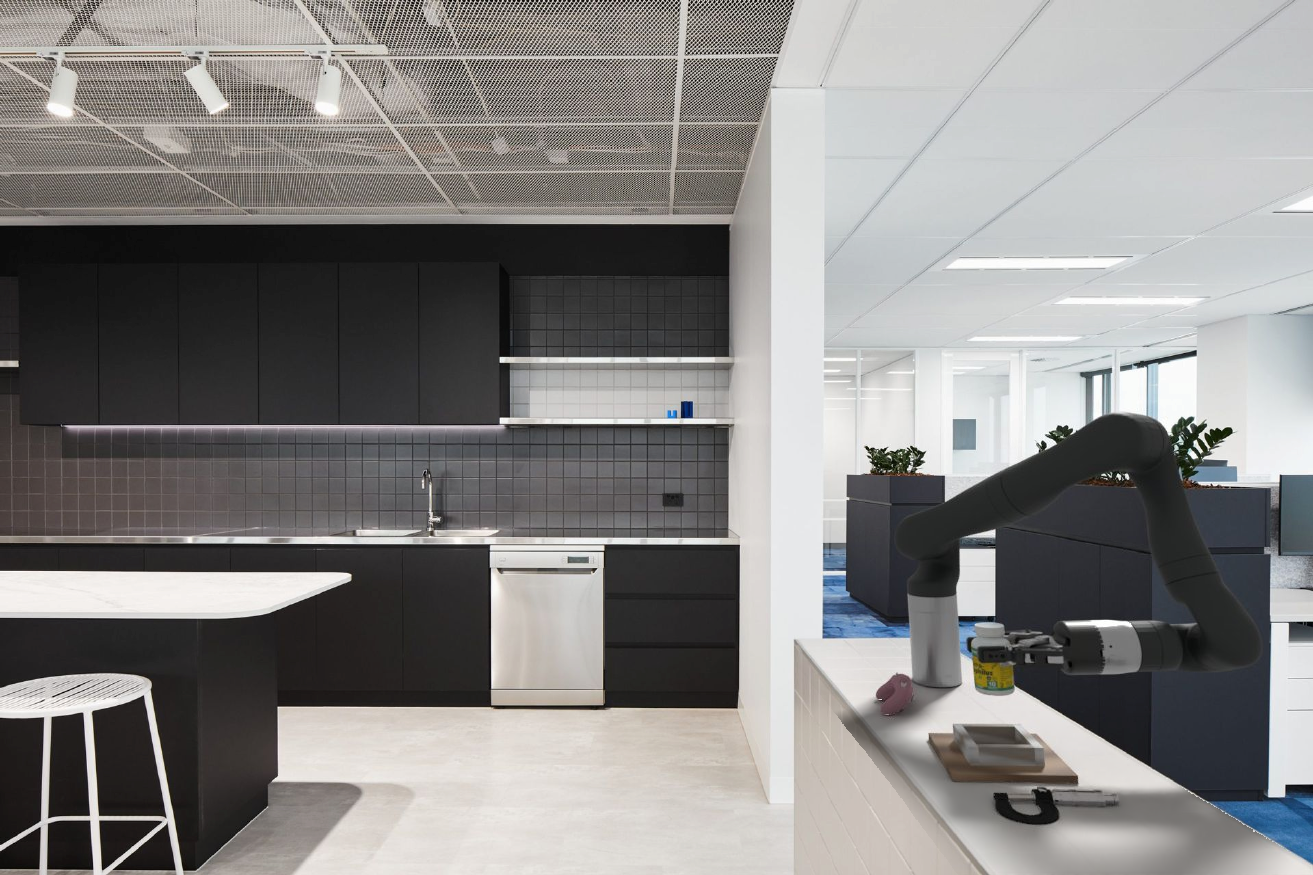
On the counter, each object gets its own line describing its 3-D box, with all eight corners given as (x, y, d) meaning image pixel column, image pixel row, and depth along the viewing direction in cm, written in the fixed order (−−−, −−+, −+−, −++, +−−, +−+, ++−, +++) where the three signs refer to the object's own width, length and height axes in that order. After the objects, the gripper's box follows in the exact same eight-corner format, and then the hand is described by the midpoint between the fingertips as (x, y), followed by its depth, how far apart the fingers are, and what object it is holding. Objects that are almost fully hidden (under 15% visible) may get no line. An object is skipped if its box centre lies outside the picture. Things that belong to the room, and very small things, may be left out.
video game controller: (904, 725, 130) (921, 689, 130) (879, 713, 131) (895, 677, 131) (896, 707, 140) (912, 673, 140) (873, 696, 141) (888, 662, 140)
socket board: (928, 739, 119) (927, 716, 119) (1036, 739, 117) (1035, 717, 117) (953, 781, 103) (951, 755, 104) (1078, 783, 101) (1076, 756, 101)
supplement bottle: (1023, 692, 109) (1018, 625, 109) (995, 698, 107) (990, 630, 107) (993, 683, 114) (988, 619, 114) (966, 689, 112) (961, 624, 112)
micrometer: (1004, 827, 91) (1003, 805, 91) (988, 801, 98) (987, 781, 98) (1140, 831, 89) (1138, 808, 89) (1113, 804, 96) (1112, 783, 96)
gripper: (1073, 611, 116) (958, 614, 118) (1116, 631, 102) (984, 634, 104) (1077, 660, 116) (961, 662, 118) (1121, 687, 101) (988, 689, 104)
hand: (972, 649), depth 111 cm, fingers closed on supplement bottle, 5 cm apart
